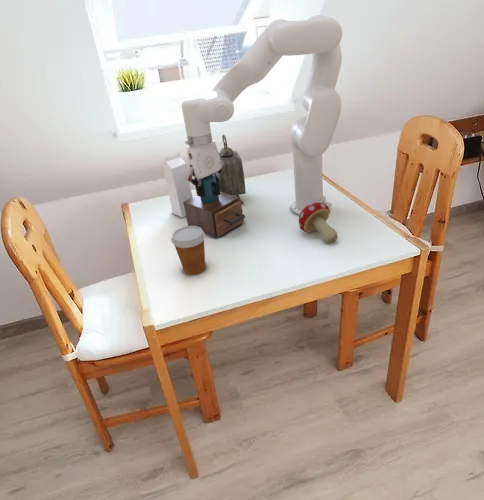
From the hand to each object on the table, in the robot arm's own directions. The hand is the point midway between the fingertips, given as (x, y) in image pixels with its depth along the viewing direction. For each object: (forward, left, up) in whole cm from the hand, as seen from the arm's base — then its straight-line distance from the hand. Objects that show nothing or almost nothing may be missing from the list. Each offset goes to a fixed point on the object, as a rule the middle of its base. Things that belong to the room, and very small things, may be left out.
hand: (208, 192), depth 145 cm
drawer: (-5, 0, -11) cm, 12 cm away
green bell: (+8, -17, -12) cm, 23 cm away
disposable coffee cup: (-16, +22, -12) cm, 30 cm away
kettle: (0, 0, -3) cm, 3 cm away
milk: (+16, 0, -12) cm, 21 cm away
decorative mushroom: (-35, -13, -12) cm, 39 cm away
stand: (-1, 0, -12) cm, 12 cm away
